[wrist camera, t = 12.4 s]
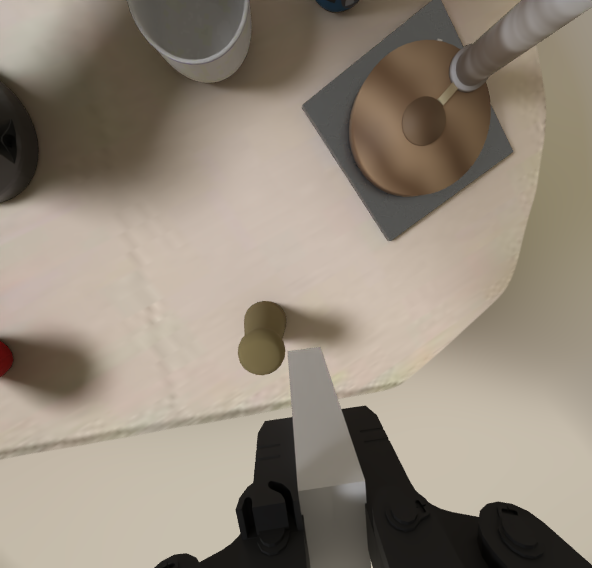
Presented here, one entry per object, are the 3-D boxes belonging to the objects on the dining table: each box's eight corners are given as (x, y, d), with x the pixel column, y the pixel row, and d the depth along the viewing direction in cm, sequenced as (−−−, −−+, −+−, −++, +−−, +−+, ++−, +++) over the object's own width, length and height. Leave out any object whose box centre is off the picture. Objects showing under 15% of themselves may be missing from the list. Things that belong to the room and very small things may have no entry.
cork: (277, 294, 39) (277, 323, 28) (292, 332, 40) (297, 373, 30) (237, 309, 39) (222, 344, 28) (253, 346, 41) (245, 392, 30)
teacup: (272, 26, 32) (271, -36, 24) (228, 116, 34) (213, 85, 26) (158, -59, 29) (115, -158, 22) (116, 43, 31) (63, -16, 23)
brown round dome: (410, 222, 37) (512, 226, 21) (321, 134, 33) (361, 57, 18) (508, 115, 34) (709, 26, 18) (423, 9, 31) (575, -210, 15)
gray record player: (302, 108, 34) (303, 103, 32) (436, -1, 32) (444, -11, 31) (387, 240, 38) (391, 241, 37) (509, 151, 36) (518, 148, 35)
